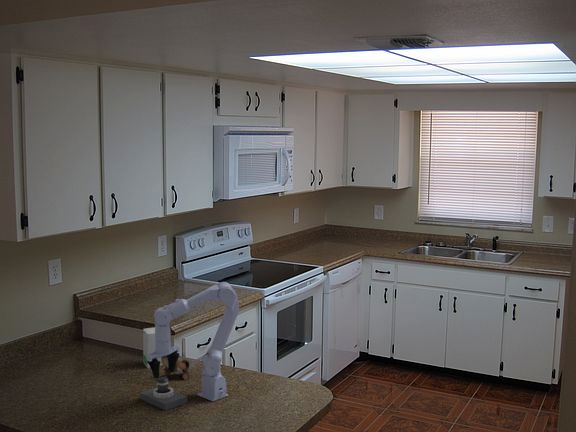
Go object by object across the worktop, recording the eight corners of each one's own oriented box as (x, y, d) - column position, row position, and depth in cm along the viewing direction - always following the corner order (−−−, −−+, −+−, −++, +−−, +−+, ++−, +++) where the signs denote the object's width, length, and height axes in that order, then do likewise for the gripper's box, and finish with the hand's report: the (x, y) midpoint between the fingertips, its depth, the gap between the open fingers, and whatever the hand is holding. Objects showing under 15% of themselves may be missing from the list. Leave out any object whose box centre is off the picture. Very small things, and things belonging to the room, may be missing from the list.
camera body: (187, 402, 253) (186, 392, 252) (165, 410, 246) (165, 400, 245) (162, 391, 264) (161, 381, 263) (140, 398, 257) (140, 388, 256)
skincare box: (143, 362, 298) (142, 328, 296) (157, 360, 300) (156, 326, 298) (147, 368, 290) (146, 333, 288) (162, 366, 293) (161, 331, 291)
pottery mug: (182, 384, 273) (171, 367, 272) (167, 389, 278) (157, 373, 278) (199, 368, 283) (188, 351, 282) (184, 373, 288) (174, 357, 287)
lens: (167, 391, 257) (167, 376, 256) (169, 395, 253) (168, 380, 252) (157, 392, 256) (156, 377, 255) (158, 396, 252) (157, 381, 251)
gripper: (170, 333, 261) (171, 367, 263) (140, 342, 250) (142, 377, 251) (182, 336, 257) (183, 371, 258) (153, 346, 245) (154, 382, 247)
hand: (163, 374), depth 255 cm, fingers open, 7 cm apart
